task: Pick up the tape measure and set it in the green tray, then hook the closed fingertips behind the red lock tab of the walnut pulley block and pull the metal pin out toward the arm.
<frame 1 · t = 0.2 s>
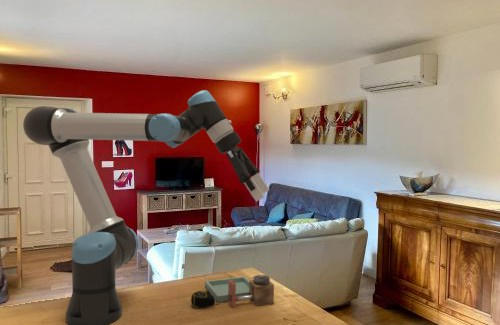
hand: (263, 195, 126), 35 cm above the table, fingers open, 13 cm apart
tray: (232, 292, 142), on the table
lock pin: (250, 290, 132), point 4 cm above the table, slide at 0.0 cm
tape measure: (204, 305, 131), on the table
pulley block: (261, 301, 134), on the table
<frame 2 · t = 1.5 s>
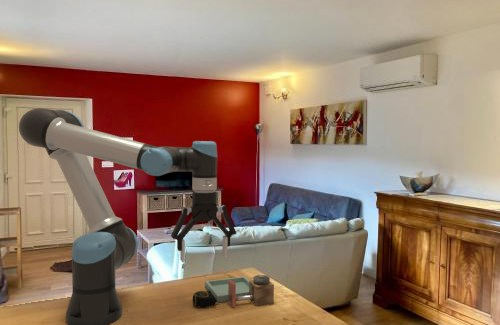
hand: (204, 258, 130), 15 cm above the table, fingers open, 13 cm apart
nothing on the table moved.
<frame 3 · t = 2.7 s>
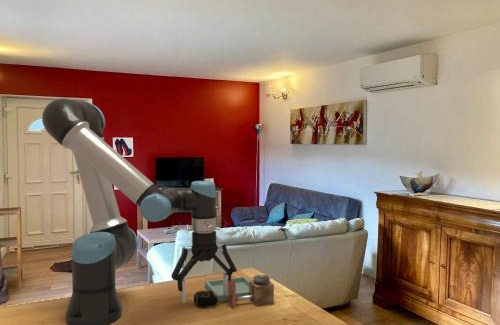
hand: (205, 298, 131), 2 cm above the table, fingers open, 13 cm apart
nothing on the table moved.
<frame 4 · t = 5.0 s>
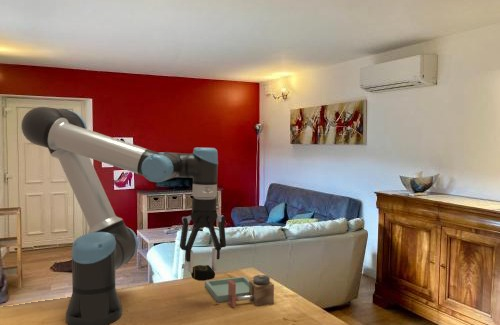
hand: (202, 270, 130), 11 cm above the table, fingers closed on tape measure, 7 cm apart
tape measure: (204, 279, 130), point 8 cm above the table, touching gripper
everything else where it was.
when the fingers open (3 cm above the table, at t = 8.6 s): tape measure stays where it is, resting on tray.
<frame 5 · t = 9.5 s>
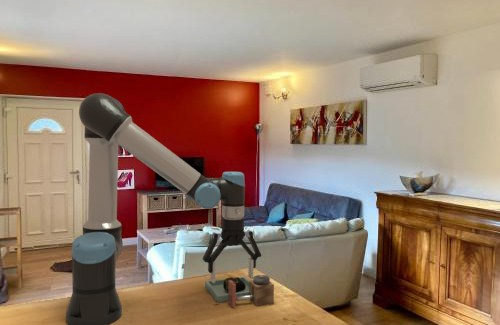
hand: (232, 279, 141), 4 cm above the table, fingers open, 13 cm apart
tape measure: (235, 290, 142), resting on tray
everything else where it was.
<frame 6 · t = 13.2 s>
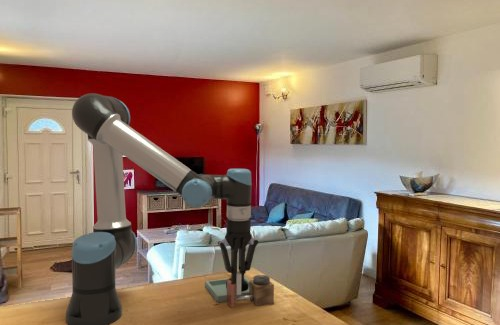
hand: (237, 293, 131), 4 cm above the table, fingers closed
lock pin: (249, 290, 132), point 4 cm above the table, slide at 0.5 cm, touching gripper
everything else where it was.
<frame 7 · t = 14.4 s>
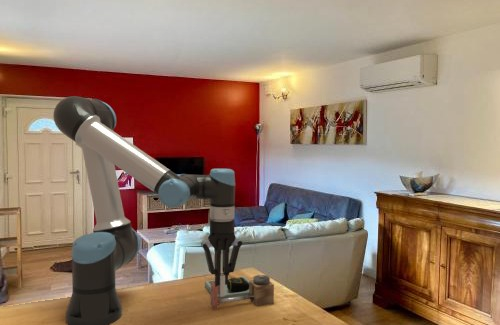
hand: (221, 295, 129), 4 cm above the table, fingers closed
lock pin: (233, 293, 130), point 4 cm above the table, slide at 5.8 cm, touching gripper
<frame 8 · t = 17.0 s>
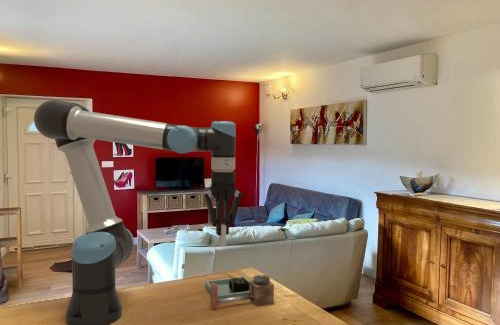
hand: (222, 245, 132), 18 cm above the table, fingers closed
lock pin: (233, 293, 130), point 4 cm above the table, slide at 5.8 cm
at the end: tape measure inside the target area on the tray (2.8 cm from its centre), point 0.4 cm above the tray's base; lock pin slide at 5.8 cm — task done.
